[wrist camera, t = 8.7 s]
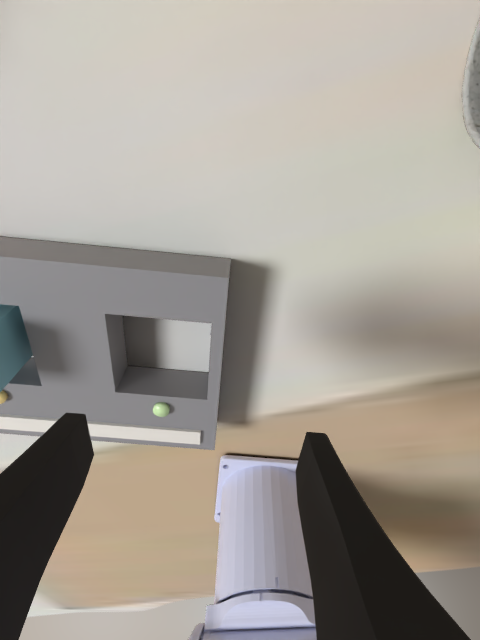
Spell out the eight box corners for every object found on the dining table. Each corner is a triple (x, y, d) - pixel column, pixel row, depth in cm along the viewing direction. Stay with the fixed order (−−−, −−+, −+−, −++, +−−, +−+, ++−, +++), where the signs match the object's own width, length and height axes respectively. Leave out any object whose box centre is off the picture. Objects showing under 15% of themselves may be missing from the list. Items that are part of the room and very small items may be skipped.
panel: (217, 421, 26) (214, 453, 23) (-14, 402, 25) (-42, 433, 23) (231, 258, 19) (228, 280, 16) (-87, 228, 18) (-138, 246, 16)
